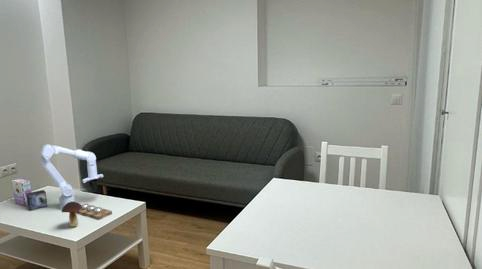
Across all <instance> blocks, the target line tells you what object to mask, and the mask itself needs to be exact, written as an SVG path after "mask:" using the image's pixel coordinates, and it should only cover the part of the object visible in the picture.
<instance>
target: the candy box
mask: <svg viewBox="0 0 482 269" xmlns="http://www.w3.org/2000/svg"><path fill="white" fill-rule="evenodd" d="M11 186H12V191H13V196H14V203H15V204H17V205H21V206H24V207H26V206H27V207H28V204H27V196H26V194H27V193H31V192H33V191H32V184H31V180H27V179H23V178H17V179H14V180H13V179H12V180H11Z"/></svg>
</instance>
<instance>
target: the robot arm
mask: <svg viewBox="0 0 482 269" xmlns="http://www.w3.org/2000/svg"><path fill="white" fill-rule="evenodd" d="M41 148H42V149H41V152H40V164H41V166H43V168H44V169H45V170H46V172H47V173H48V174H49V175H50V177H51V179H52V180H54V182H55V184H57V186H58V187H59V189H60V190H61V195H60V196H59V198H58V201H59V208H58V209H59V210H61V211H62V209H63V207H64V206H65V205H66V204H67V203H69V202H76V200H75V193H74V190H73V186H72V185H71V184H70V183H68V181H67V180H66V179H64V177H63V176H62V175H61V173H60V172H59V171H58V170H57V168H56V167H55V166H54V164H52V162H51V158H52V157H53V156H54V155H57V154H63V155H69V156H72V157H73V158H74V159H78V160H81V161H86V168H87V177H86V178H85V177H84V179H82V183H83V184H85V183H89V185H90V186H91V190H92V191H97V187H98V183H99V182H100V180H99V179H100V178H104V174H102V173H100V174H98V168H97V157H96V155H95V153H94V152H92V151H88V150H87V151H84V150H82V149H80V148H79V149H75V150H74V149H70V148H66V147H63V146H60V145H54V144H52V145H51V144H49V143H48V144H45V145H44V146H43V147H41Z"/></svg>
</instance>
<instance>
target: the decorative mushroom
mask: <svg viewBox="0 0 482 269" xmlns="http://www.w3.org/2000/svg"><path fill="white" fill-rule="evenodd" d="M81 205H82V204H81V203H79V202H76V201H75V202H69V203H67V204H66V205H65V206H64V207H63V209H62V210H61V213H69V214H68V215H69V216H68V217H69V218H68V219H69V220H68V221H69V226H70V227H71V228H77V226H78V224H79V221H78V216H77V213H76V212H75V211H78V210H80V209H82V208H83V207H82V206H81Z"/></svg>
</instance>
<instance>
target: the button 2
mask: <svg viewBox="0 0 482 269" xmlns="http://www.w3.org/2000/svg"><path fill="white" fill-rule="evenodd" d="M96 207H97V208H95V209H94V213H101V212H102V207H100V206H99V207H98V206H96Z"/></svg>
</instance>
